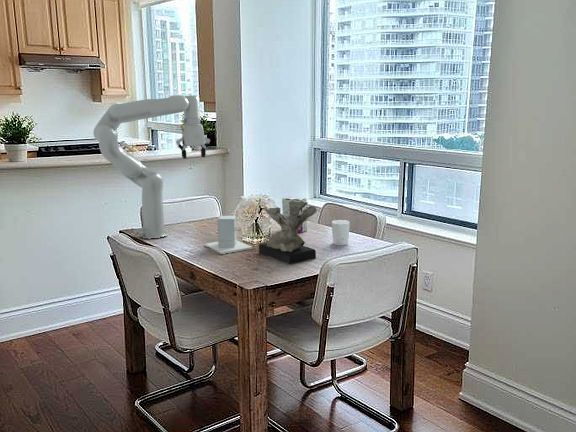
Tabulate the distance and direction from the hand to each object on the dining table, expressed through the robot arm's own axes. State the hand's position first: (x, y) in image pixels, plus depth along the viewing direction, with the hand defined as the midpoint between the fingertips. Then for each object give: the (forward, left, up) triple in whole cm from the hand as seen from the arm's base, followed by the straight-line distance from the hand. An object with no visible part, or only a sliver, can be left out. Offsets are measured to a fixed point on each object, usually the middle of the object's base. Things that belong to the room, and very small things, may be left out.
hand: (193, 157), depth 276 cm
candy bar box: (+38, -30, -36) cm, 61 cm away
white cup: (+41, -62, -36) cm, 83 cm away
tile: (-3, -38, -36) cm, 53 cm away
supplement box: (-3, -38, -35) cm, 52 cm away
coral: (+14, -62, -36) cm, 73 cm away
